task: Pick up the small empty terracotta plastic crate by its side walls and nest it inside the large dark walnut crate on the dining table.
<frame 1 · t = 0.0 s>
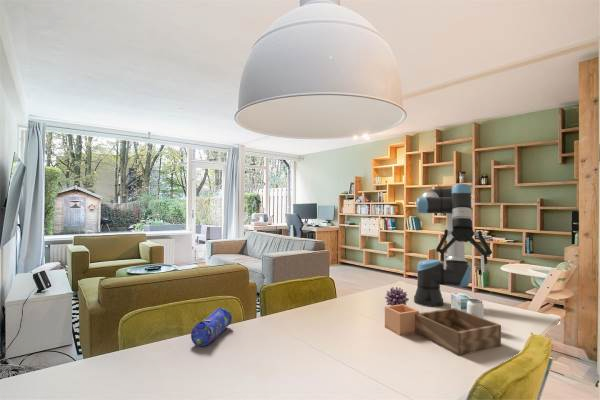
hand: (463, 270, 129), 28 cm above the table, tool tilted 20°, fingers open, 13 cm apart
purple spiky ball: (396, 310, 165), on the table
small crate: (401, 329, 139), on the table
pencil case: (212, 337, 131), on the table
can: (475, 328, 142), on the table
light bulb box: (462, 318, 154), on the table
large crate: (455, 339, 130), on the table
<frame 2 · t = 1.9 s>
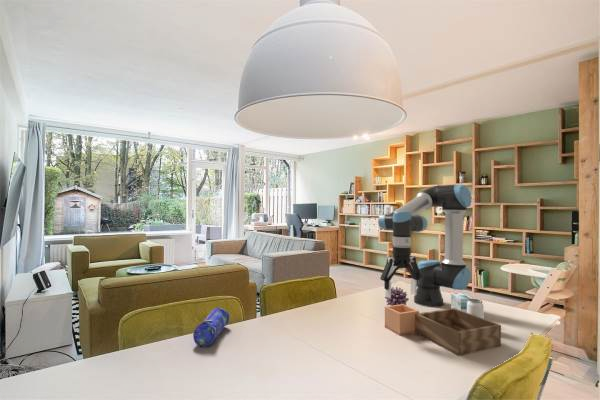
hand: (401, 295, 139), 15 cm above the table, tool pointing down, fingers open, 13 cm apart
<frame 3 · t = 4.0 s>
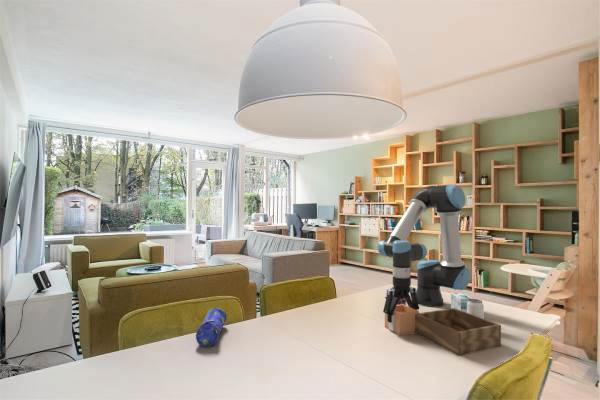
hand: (401, 327, 139), 1 cm above the table, tool pointing down, fingers closed on small crate, 10 cm apart
small crate: (401, 329, 139), on the table, touching gripper
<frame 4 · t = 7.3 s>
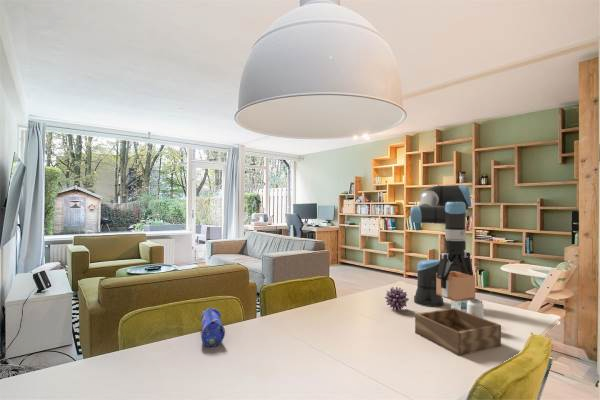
hand: (455, 294, 130), 18 cm above the table, tool pointing down, fingers closed on small crate, 10 cm apart
small crate: (455, 296, 130), point 17 cm above the table, touching gripper
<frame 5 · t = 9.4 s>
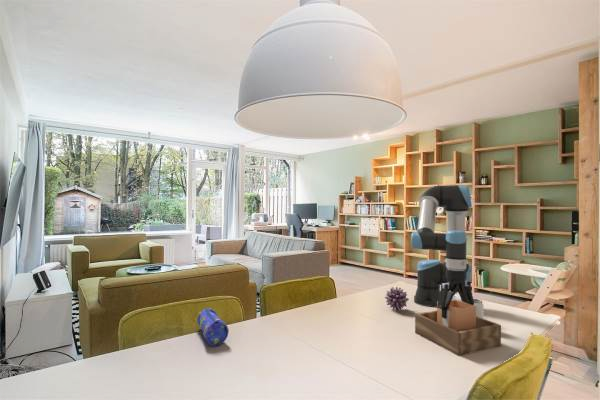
hand: (456, 324, 130), 6 cm above the table, tool pointing down, fingers closed on small crate, 10 cm apart
small crate: (456, 326, 130), point 5 cm above the table, touching gripper
when the fingers open (4 cm above the table, at t = 10.9 s): small crate drops 2 cm, resting on large crate.
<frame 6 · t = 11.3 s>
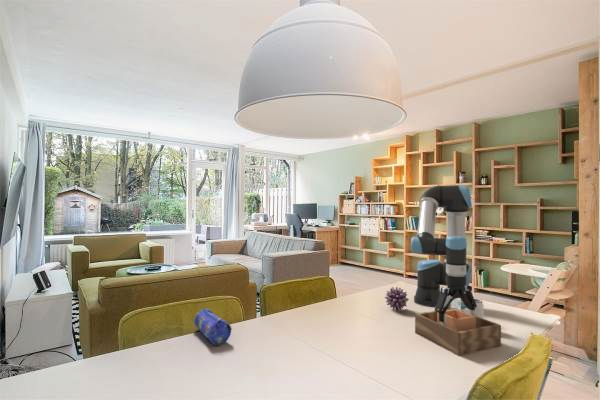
hand: (456, 327, 130), 5 cm above the table, tool pointing down, fingers open, 13 cm apart
small crate: (456, 336, 130), point 1 cm above the table, touching large crate
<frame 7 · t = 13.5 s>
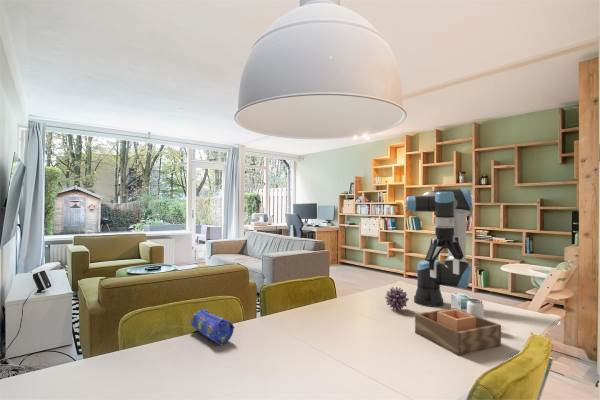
hand: (444, 275, 141), 23 cm above the table, tool pointing down, fingers open, 13 cm apart
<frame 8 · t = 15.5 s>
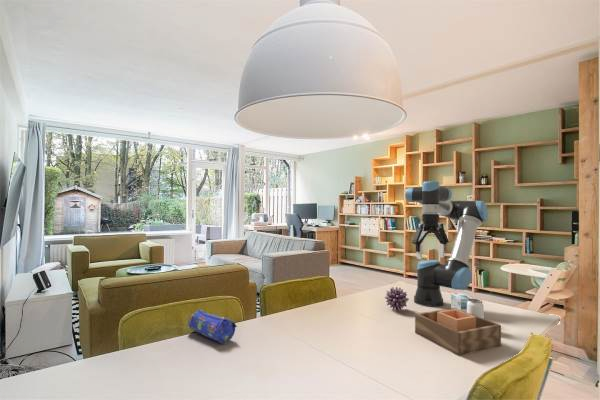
hand: (430, 258, 154), 29 cm above the table, tool pointing down, fingers open, 13 cm apart
at the end: small crate inside the target area on the large crate (0.0 cm from its centre), point 1.0 cm above the large crate's base; small crate tilted 0°; the gripper is holding nothing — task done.
